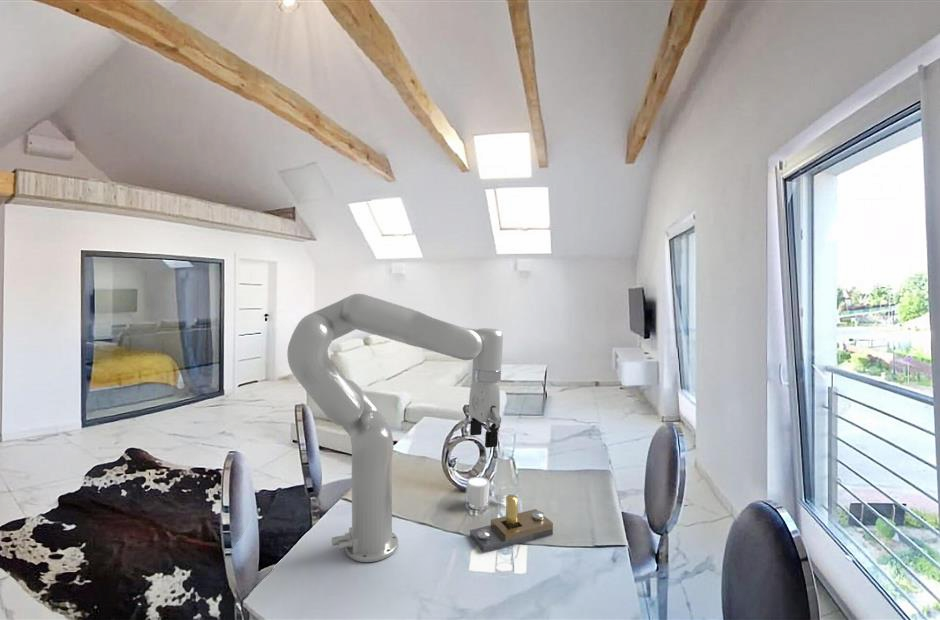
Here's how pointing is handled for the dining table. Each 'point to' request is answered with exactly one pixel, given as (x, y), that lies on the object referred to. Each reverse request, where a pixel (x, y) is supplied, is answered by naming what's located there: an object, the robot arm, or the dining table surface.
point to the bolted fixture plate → (512, 531)
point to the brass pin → (511, 511)
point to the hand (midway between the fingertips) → (483, 440)
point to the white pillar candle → (478, 491)
